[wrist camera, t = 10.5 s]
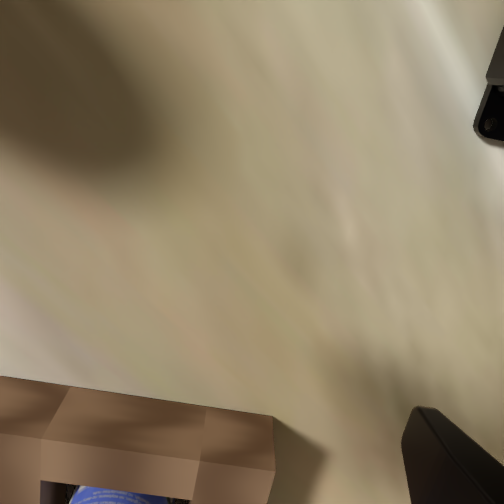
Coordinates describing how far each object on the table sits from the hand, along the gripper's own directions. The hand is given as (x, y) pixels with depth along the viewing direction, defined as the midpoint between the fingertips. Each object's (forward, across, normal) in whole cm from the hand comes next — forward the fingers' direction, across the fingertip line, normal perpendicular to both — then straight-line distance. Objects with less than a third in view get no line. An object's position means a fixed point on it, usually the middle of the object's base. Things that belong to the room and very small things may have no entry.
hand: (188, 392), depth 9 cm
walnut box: (+11, +3, +16) cm, 20 cm away
